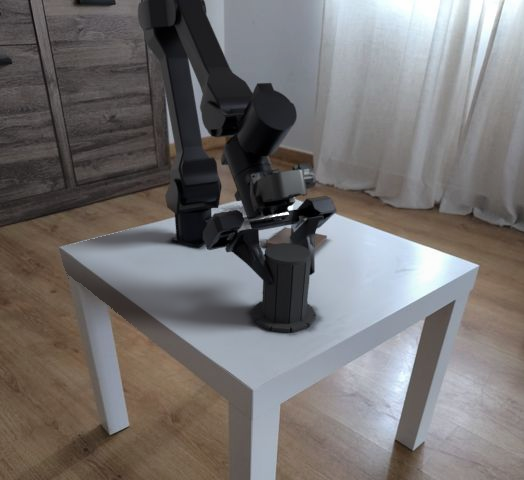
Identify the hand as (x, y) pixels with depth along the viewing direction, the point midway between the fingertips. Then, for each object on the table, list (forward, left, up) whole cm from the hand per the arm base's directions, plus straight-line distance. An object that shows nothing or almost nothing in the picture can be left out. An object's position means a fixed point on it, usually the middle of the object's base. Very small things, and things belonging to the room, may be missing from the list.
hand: (291, 278), depth 67 cm
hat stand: (-10, +27, -7) cm, 29 cm away
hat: (-1, +1, -7) cm, 7 cm away
